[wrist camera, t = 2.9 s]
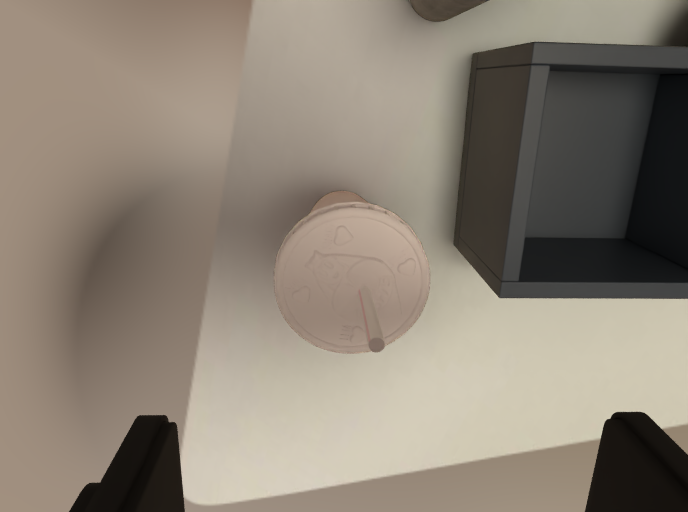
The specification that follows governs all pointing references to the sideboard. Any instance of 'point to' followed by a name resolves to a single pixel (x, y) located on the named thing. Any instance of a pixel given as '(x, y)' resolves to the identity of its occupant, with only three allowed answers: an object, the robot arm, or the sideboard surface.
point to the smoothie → (351, 275)
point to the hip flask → (443, 8)
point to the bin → (577, 171)
